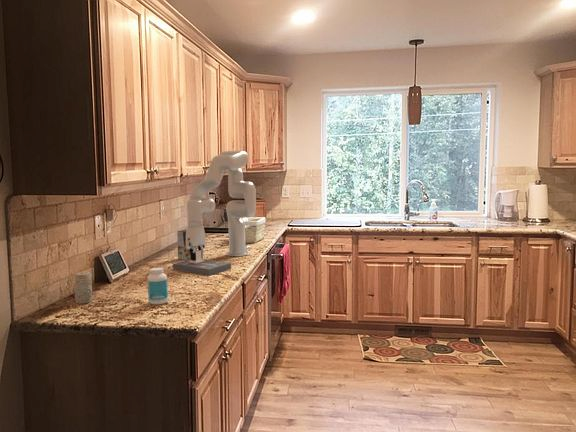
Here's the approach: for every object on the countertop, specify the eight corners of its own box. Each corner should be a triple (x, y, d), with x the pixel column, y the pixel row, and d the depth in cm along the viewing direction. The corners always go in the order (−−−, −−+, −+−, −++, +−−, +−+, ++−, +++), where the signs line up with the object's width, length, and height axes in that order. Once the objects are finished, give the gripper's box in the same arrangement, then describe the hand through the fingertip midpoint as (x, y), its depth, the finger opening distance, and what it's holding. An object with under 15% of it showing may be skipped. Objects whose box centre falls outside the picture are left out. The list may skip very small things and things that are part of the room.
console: (195, 263, 261) (195, 257, 261) (231, 268, 247) (231, 262, 247) (173, 269, 248) (172, 263, 247) (209, 275, 234) (209, 269, 234)
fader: (197, 260, 253) (197, 249, 252) (204, 261, 250) (204, 250, 249) (189, 262, 248) (188, 251, 247) (196, 263, 245) (195, 252, 245)
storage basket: (244, 237, 345) (244, 216, 344) (267, 237, 342) (266, 216, 340) (234, 243, 322) (233, 221, 320) (257, 243, 319) (257, 221, 317)
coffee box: (185, 260, 270) (183, 231, 268) (177, 259, 274) (176, 230, 272) (197, 257, 277) (196, 229, 275) (190, 256, 281) (189, 228, 279)
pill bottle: (171, 302, 192) (170, 268, 190) (155, 306, 186) (153, 272, 185) (161, 298, 197) (159, 265, 195) (144, 302, 191) (143, 269, 190)
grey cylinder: (74, 305, 189) (71, 275, 188) (77, 300, 196) (75, 271, 195) (91, 304, 191) (89, 274, 189) (94, 298, 198) (92, 269, 196)
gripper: (201, 221, 256) (202, 255, 258) (177, 225, 242) (179, 261, 244) (212, 222, 252) (213, 257, 254) (188, 226, 238) (190, 263, 240)
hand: (196, 259), depth 249 cm, fingers closed on fader, 4 cm apart
